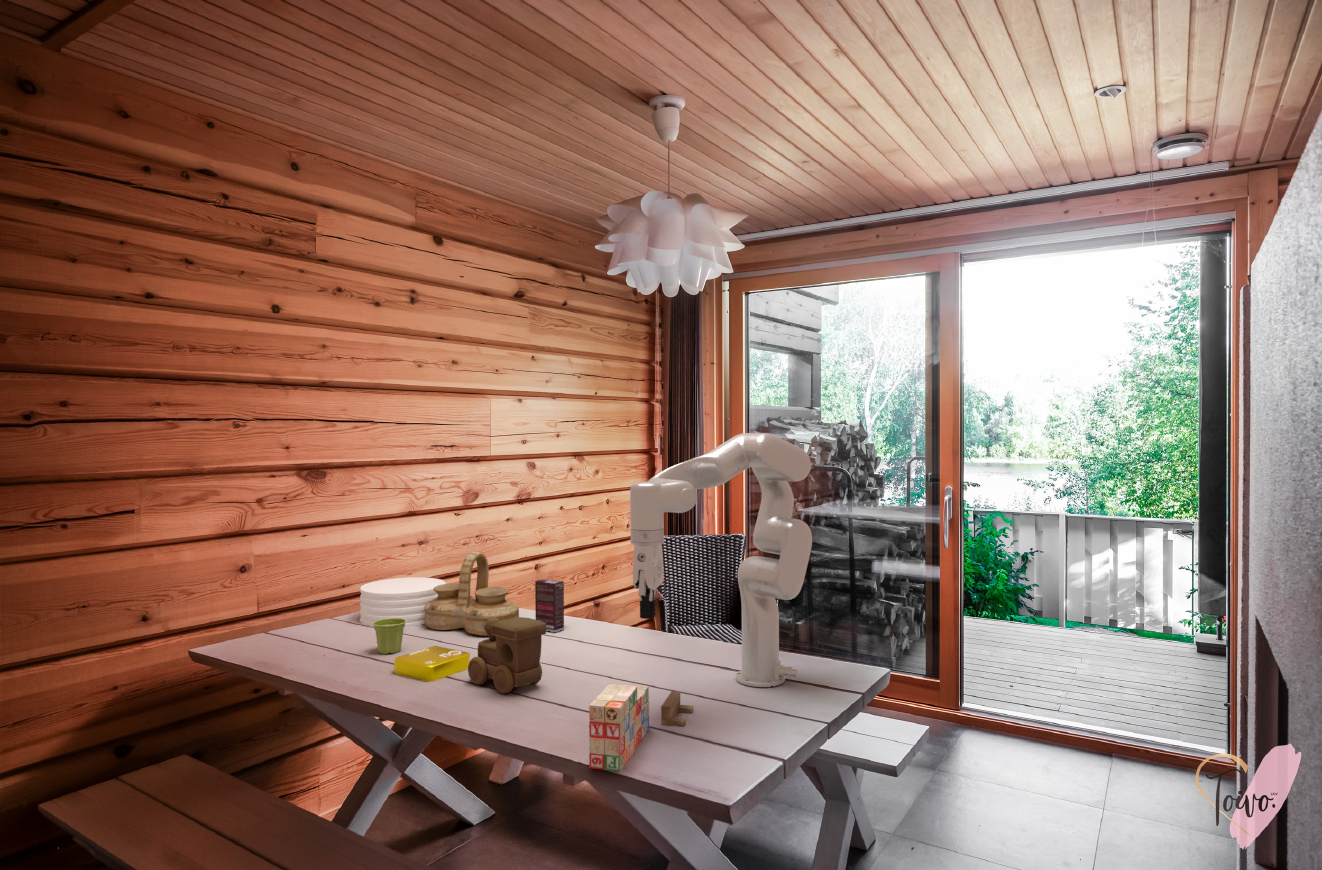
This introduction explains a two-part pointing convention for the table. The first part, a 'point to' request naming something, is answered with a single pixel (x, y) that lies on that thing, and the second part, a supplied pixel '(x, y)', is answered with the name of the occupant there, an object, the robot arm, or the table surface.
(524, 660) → the wooden toy train
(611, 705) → the stack of blocks
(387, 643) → the plant pot
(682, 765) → the table surface
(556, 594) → the supplement box
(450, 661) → the element tile
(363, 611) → the plate stack
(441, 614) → the ceramic vessel
